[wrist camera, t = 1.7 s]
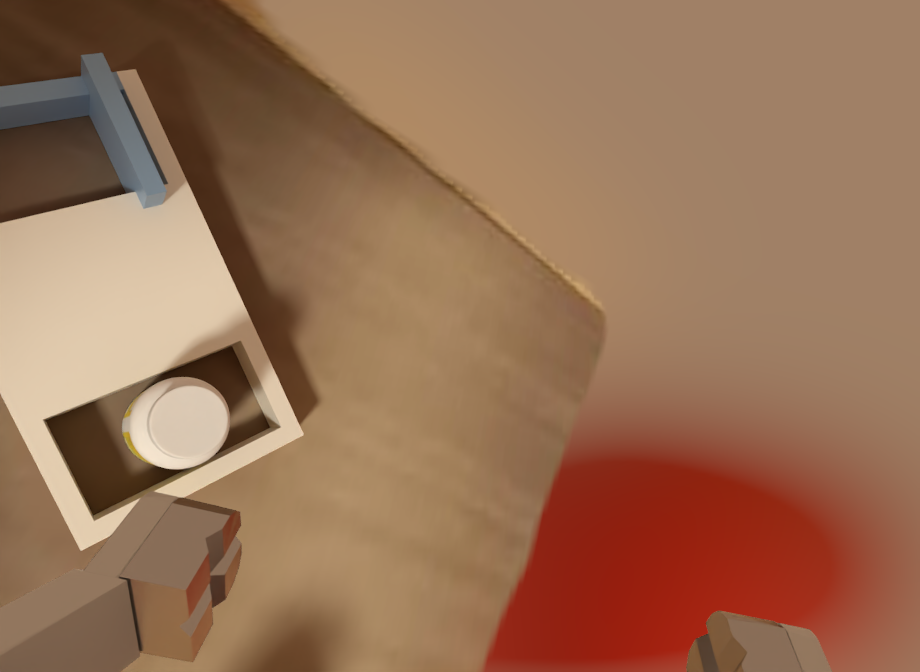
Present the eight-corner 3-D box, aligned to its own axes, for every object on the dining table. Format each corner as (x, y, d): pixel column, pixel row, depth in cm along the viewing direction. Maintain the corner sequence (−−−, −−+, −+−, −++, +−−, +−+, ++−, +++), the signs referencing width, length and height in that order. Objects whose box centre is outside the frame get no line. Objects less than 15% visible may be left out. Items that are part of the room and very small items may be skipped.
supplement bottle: (206, 465, 41) (237, 472, 33) (116, 465, 38) (125, 474, 30) (213, 387, 42) (245, 375, 34) (126, 381, 39) (137, 368, 31)
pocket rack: (81, 542, 37) (80, 558, 32) (-130, 129, 34) (-163, 82, 30) (291, 434, 45) (315, 434, 40) (132, 90, 42) (138, 48, 37)
